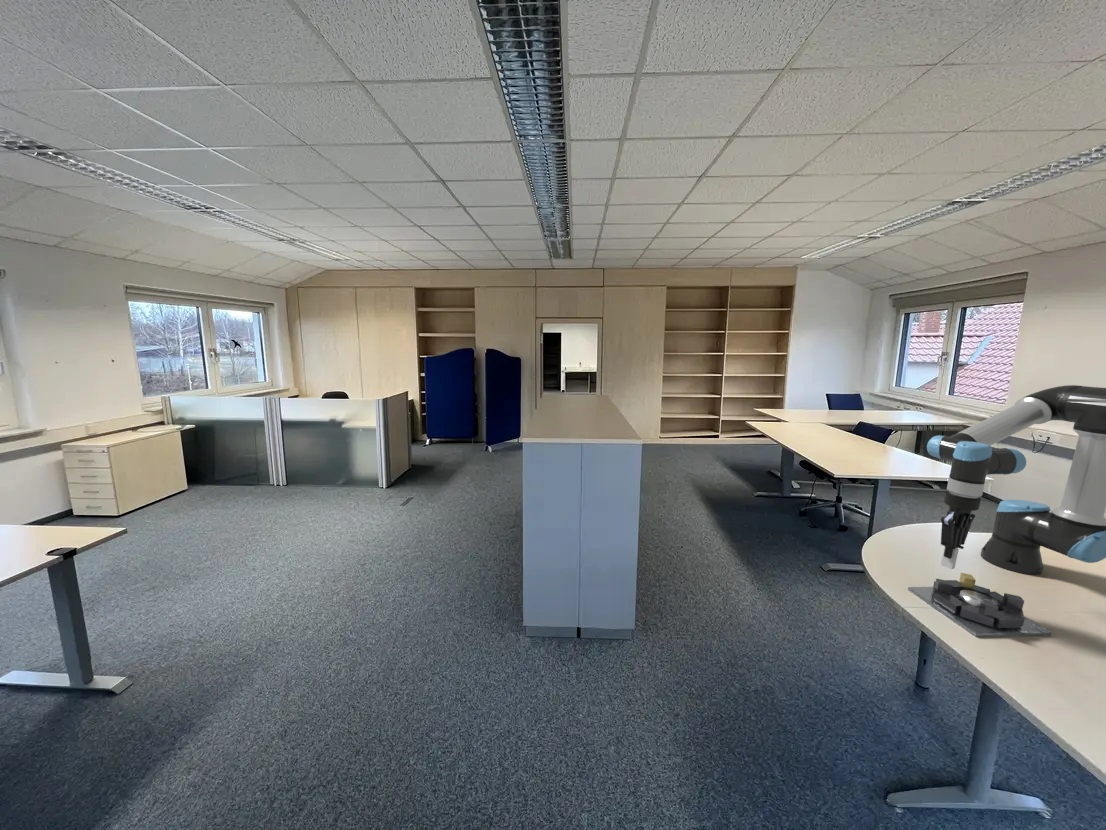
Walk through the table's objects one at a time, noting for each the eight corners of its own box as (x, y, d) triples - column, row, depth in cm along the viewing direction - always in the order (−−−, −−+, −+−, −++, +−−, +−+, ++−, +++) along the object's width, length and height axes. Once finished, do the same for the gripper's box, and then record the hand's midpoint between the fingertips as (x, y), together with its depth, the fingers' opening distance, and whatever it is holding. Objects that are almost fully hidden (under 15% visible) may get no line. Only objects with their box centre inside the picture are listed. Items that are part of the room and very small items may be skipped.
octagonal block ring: (972, 587, 132) (976, 571, 131) (1042, 627, 113) (1046, 609, 112) (916, 587, 131) (919, 571, 130) (976, 628, 113) (980, 610, 112)
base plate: (971, 589, 133) (974, 576, 132) (1050, 635, 113) (1054, 620, 112) (907, 589, 133) (910, 577, 132) (975, 636, 112) (978, 621, 111)
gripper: (960, 486, 129) (944, 556, 133) (935, 491, 124) (920, 564, 128) (992, 495, 122) (975, 569, 126) (967, 501, 117) (950, 577, 122)
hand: (947, 566), depth 127 cm, fingers closed
